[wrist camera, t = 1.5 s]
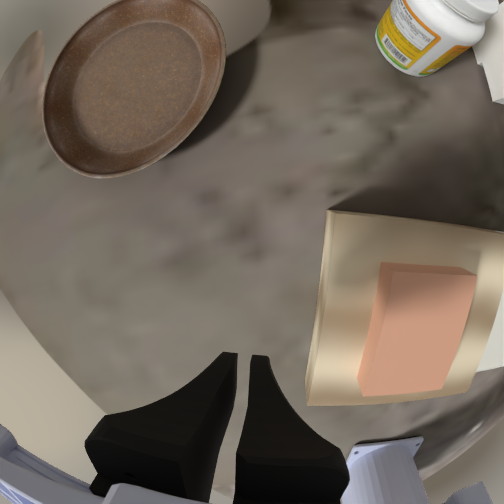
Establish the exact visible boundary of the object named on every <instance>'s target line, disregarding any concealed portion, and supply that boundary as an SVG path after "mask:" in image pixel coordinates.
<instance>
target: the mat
mask: <svg viewBox="0 0 504 504" xmlns="http://www.w3.org/2000/svg"><path fill="white" fill-rule="evenodd" d="M494 231H495V230H494ZM497 232H501V231H497ZM501 233H504V232H501ZM502 366H504V288H503V292H502V296H501V300H500V304H499V307H498V311H497V314H496V318H495V321H494V324H493V327H492V330H491V333H490V336H489V339H488V342H487V345H486V348H485V350H484V353H483V356H482V358H481V361H480V363H479V366H478V368H477V370H476V372H478V371H483V370H488V369H493V368H498V367H502Z"/></svg>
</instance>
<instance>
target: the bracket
mask: <svg viewBox="0 0 504 504" xmlns="http://www.w3.org/2000/svg"><path fill="white" fill-rule="evenodd" d="M472 48H473V51H474V54H475V57H476V60H477V63H478V65H481V66H483V67H484V70H485V74H486V77H487V81H488V85H489V89H490V93H491V97H492V101H493V102H497V103H501V104H504V2H502V3H501V4H500V5H499V10H498V12H497V13H496V14H495V15H493V16H492V17H491V18H490V19H489V20H487V21H485V33H484V36H483V37H482V39H481V40H480V41H478V42H477V43H476V44H475V45H473V46H472Z"/></svg>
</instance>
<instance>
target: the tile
mask: <svg viewBox="0 0 504 504" xmlns="http://www.w3.org/2000/svg"><path fill="white" fill-rule="evenodd" d="M476 281H477V275H475V274H473V273H471V272H469V271H467V270H465V269H463V268H461V267H449V266H434V265H419V264H404V263H389V262H381V266H380V272H379V278H378V284H377V290H376V296H375V301H374V307H373V312H372V317H371V321H370V326H369V331H368V335H367V339H366V344H365V348H364V352H363V356H362V360H361V364H360V368H359V371H358V375H357V381H358V384H359V387H360V389H361V392H362V395H363V396H381V395H395V394H406V393H415V392H424V391H432V390H439V389H442V387H443V385H444V382H445V380H446V377H447V375H448V373H449V370H450V367H451V365H452V362H453V360H454V357H455V354H456V351H457V349H458V346H459V343H460V340H461V337H462V334H463V330H464V327H465V324H466V320H467V317H468V313H469V310H470V306H471V302H472V298H473V294H474V290H475V286H476Z"/></svg>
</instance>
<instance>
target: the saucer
mask: <svg viewBox="0 0 504 504" xmlns="http://www.w3.org/2000/svg"><path fill="white" fill-rule="evenodd" d="M225 61H226V44H225V38H224V34H223V31H222V29H221V26H220V24H219V22H218V20H217V19H216V17H215V16H214V14H213V13H212V12H211V11H210V10H209V9H208V8H207V7H206V6H205V5H204V4H203V3H201V2H200V1H198V0H117V1H115V2H113V3H111V4H109V5H108V6H106V7H104V8H103V9H101V10H100V11H98V12H97V13H95V14H94V15H92V16H91V17H90V18H89V19H87V20H86V21H85V22H84V23H83V24H82V25H81V26H80V27H79V28H78V29H77V30H76V31H75V32H74V33H73V34H72V36H71V37H70V38H69V39H68V41H67V42H66V43H65V45H64V46H63V47H62V49H61V51H60V52H59V54H58V56H57V57H56V59H55V61H54V64H53V66H52V68H51V70H50V73H49V75H48V78H47V82H46V85H45V89H44V94H43V102H42V119H43V126H44V131H45V134H46V138H47V140H48V142H49V145H50V147H51V148H52V150H53V151H54V153H55V155H56V156H57V157H58V158H59V160H60V161H61V162H63V163H64V164H65V165H66V166H67V167H68V168H70V169H72V170H73V171H75V172H77V173H79V174H81V175H84V176H88V177H92V178H114V177H120V176H124V175H128V174H131V173H134V172H137V171H139V170H142V169H144V168H146V167H148V166H150V165H152V164H154V163H155V162H157V161H158V160H160V159H162V158H163V157H165V156H166V155H167V154H168V153H170V152H171V151H172V150H173V149H175V148H176V147H177V146H178V145H179V144H180V143H181V142H182V141H184V140H185V139H186V138H187V137H188V136H189V135H190V133H191V132H192V131H193V130H194V129H195V128H196V126H197V125H198V124H199V123H200V121H201V120H202V119H203V117H204V116H205V114H206V113H207V111H208V109H209V108H210V106H211V104H212V102H213V100H214V98H215V96H216V94H217V92H218V89H219V87H220V84H221V81H222V77H223V74H224V69H225Z"/></svg>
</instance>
